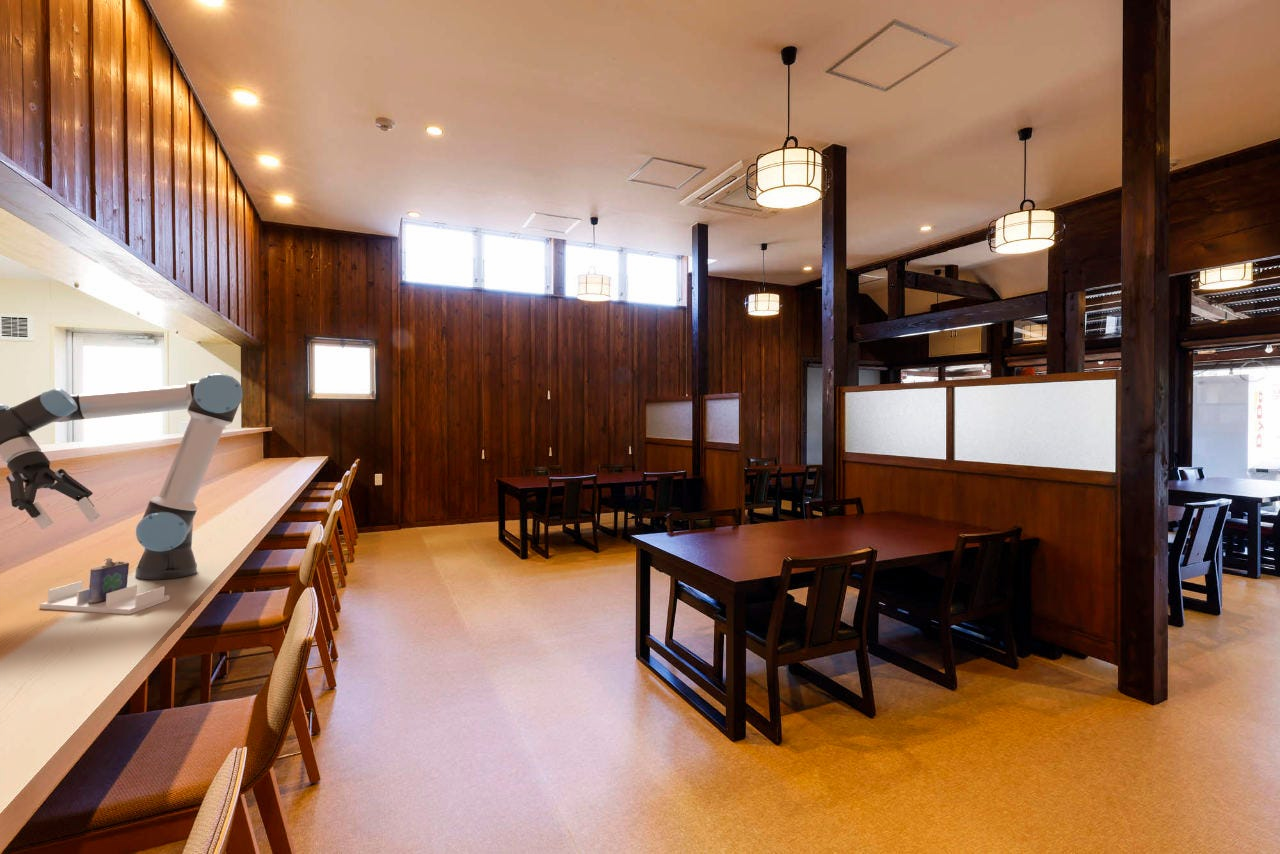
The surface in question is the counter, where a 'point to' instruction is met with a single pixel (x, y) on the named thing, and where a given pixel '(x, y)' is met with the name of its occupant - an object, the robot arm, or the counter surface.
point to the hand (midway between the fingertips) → (72, 522)
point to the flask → (107, 580)
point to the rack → (115, 602)
